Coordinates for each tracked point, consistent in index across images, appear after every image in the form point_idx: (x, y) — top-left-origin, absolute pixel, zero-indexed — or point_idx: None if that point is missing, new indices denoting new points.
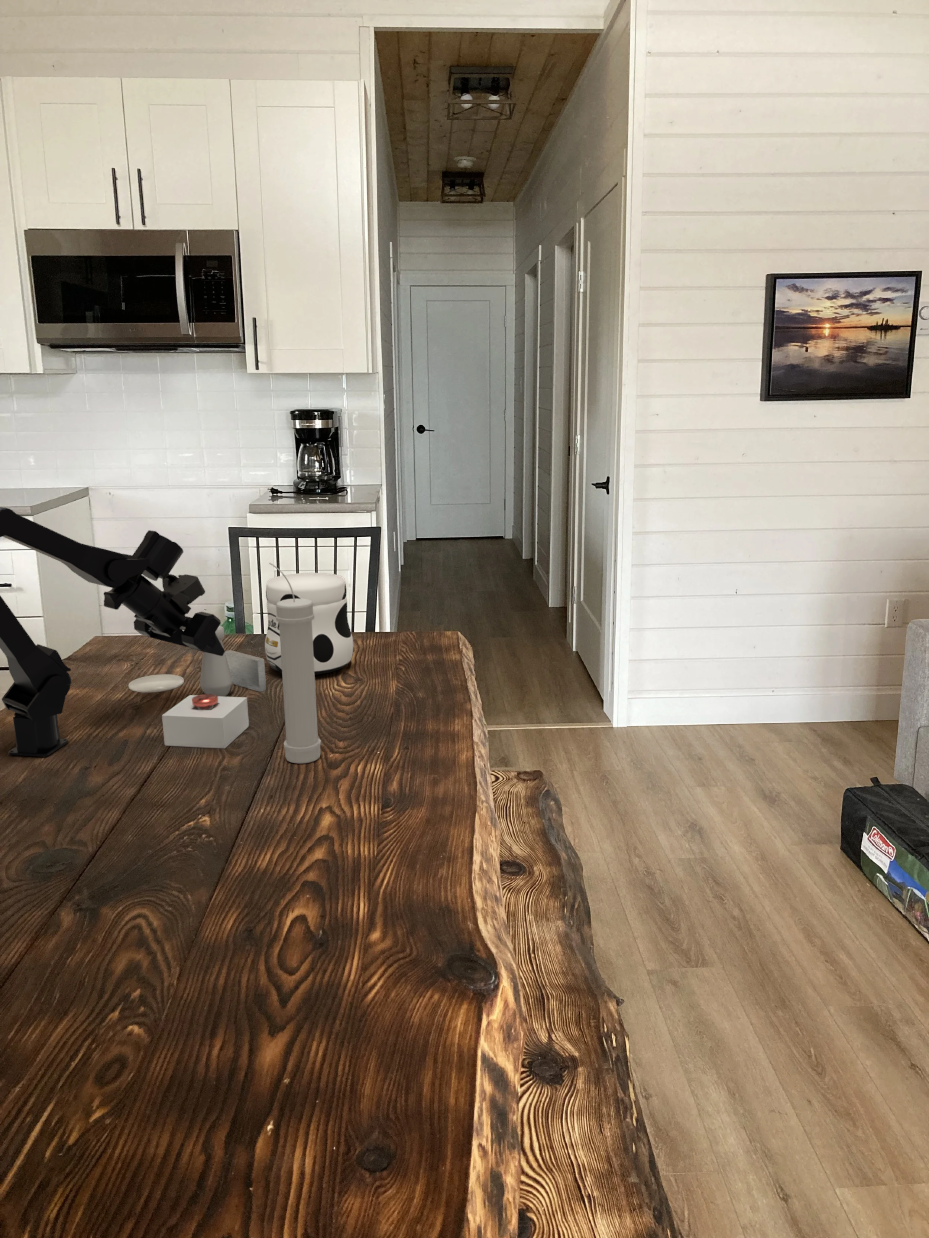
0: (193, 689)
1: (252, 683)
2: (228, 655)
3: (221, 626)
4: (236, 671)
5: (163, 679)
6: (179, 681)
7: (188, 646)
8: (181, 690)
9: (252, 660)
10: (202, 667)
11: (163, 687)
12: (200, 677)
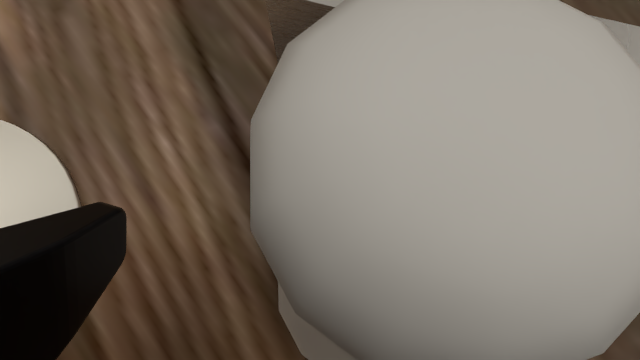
0: (190, 257)
1: None
2: (315, 14)
3: (606, 30)
4: None
5: None
6: (54, 197)
7: (104, 282)
8: (134, 295)
9: None
10: (334, 353)
11: None
12: (306, 349)
